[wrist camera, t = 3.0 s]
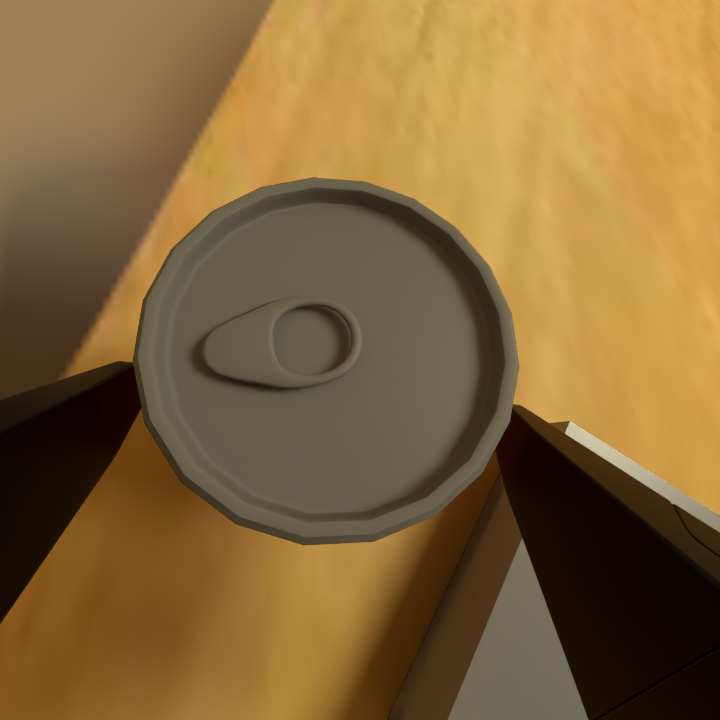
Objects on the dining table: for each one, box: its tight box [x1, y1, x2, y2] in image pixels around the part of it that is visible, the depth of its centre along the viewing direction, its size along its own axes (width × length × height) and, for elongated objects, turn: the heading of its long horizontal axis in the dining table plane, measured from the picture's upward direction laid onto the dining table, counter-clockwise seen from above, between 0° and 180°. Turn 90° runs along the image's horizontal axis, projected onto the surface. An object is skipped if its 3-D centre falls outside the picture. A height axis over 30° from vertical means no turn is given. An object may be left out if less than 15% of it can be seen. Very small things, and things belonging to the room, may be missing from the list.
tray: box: [387, 421, 720, 720], centre depth 13 cm, size 14×16×4 cm
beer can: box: [133, 178, 519, 545], centre depth 10 cm, size 7×7×12 cm
